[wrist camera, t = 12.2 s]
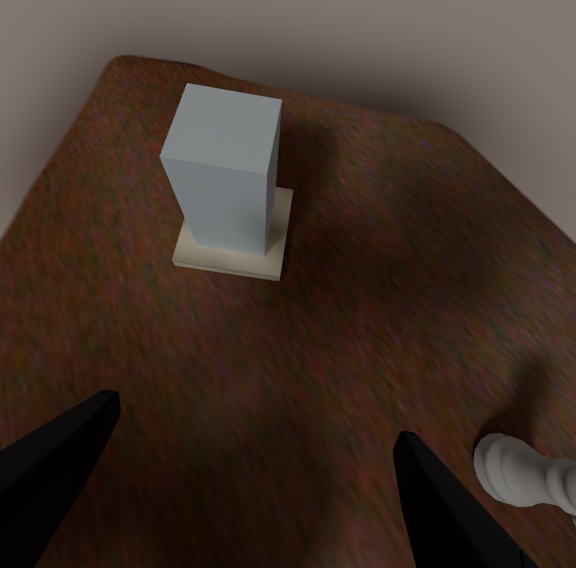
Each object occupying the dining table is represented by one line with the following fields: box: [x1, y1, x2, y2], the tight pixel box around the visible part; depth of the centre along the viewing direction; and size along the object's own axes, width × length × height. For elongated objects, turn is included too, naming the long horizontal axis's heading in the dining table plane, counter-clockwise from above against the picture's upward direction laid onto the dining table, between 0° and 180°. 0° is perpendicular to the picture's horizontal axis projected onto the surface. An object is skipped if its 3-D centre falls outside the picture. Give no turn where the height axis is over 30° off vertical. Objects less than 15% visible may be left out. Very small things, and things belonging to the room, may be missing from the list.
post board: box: [172, 187, 293, 281], centre depth 25 cm, size 9×9×4 cm
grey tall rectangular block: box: [160, 83, 282, 256], centre depth 22 cm, size 6×6×10 cm
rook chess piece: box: [474, 433, 576, 516], centre depth 18 cm, size 4×4×8 cm
